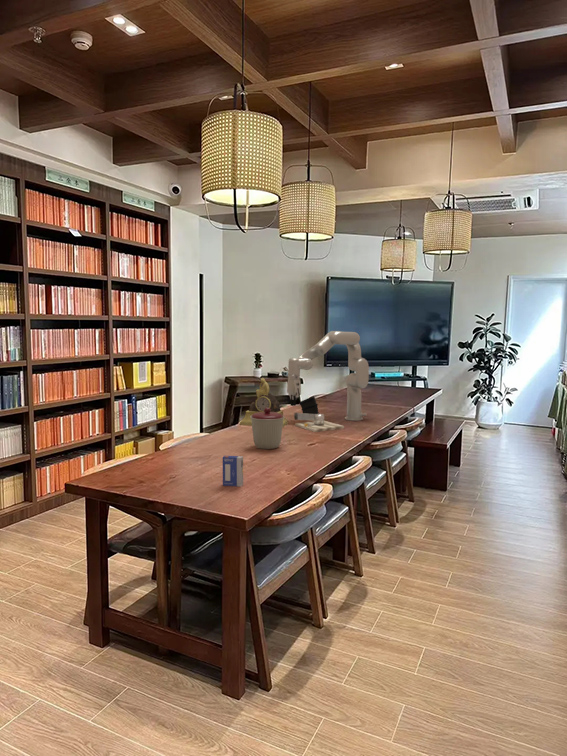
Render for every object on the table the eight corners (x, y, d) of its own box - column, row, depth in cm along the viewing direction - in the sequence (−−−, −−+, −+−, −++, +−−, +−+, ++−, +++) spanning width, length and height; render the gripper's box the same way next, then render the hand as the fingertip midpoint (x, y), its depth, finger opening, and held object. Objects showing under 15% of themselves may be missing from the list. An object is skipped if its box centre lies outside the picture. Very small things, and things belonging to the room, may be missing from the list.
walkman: (222, 485, 208) (222, 456, 207) (224, 483, 211) (224, 454, 210) (241, 486, 207) (241, 457, 206) (243, 484, 210) (243, 455, 209)
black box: (322, 416, 357) (313, 396, 358) (305, 423, 361) (296, 403, 362) (323, 415, 361) (314, 395, 361) (306, 422, 365) (297, 402, 365)
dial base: (323, 422, 343) (323, 417, 342) (344, 428, 324) (344, 423, 324) (295, 425, 331) (295, 420, 331) (315, 432, 313) (315, 426, 312)
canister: (262, 441, 286) (262, 403, 284) (290, 446, 277) (291, 406, 275) (243, 448, 270) (243, 408, 268) (272, 453, 261) (272, 411, 259)
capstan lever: (325, 423, 329) (325, 414, 329) (322, 425, 324) (322, 415, 323) (295, 421, 335) (295, 412, 335) (293, 423, 330) (293, 413, 329)
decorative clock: (239, 425, 333) (239, 378, 330) (246, 421, 345) (246, 376, 342) (281, 428, 325) (282, 380, 322) (287, 424, 337) (287, 378, 334)
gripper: (305, 378, 331) (304, 406, 332) (292, 376, 343) (291, 403, 345) (295, 378, 327) (294, 407, 328) (282, 376, 339) (282, 404, 341)
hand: (293, 405), depth 337 cm, fingers closed
